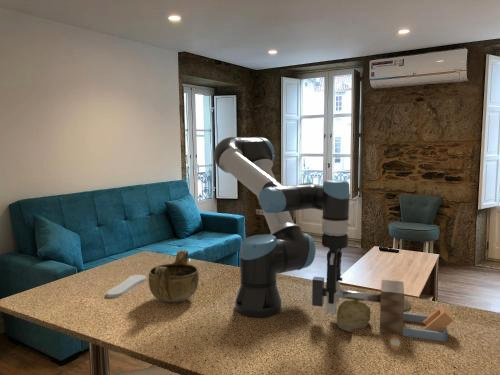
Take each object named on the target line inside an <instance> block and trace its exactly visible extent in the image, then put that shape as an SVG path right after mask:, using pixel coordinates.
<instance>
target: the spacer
mask: <svg viewBox="0 0 500 375" xmlns="http://www.w3.org/2000/svg"><path fill="white" fill-rule="evenodd" d="M428 316H429V317H428V318H426V319H425V320H424V321H423V323H422V324H424V325H425V326H424V328H423V330H430V331H437V332H442V331H441V330H443V329H444V328H445V327H446V328H447V327H448V326H449V325H450V324H452V322H454V318H453V315H452V313H451V311H450V310H448V309H447V308H446V307H445V306H443V305H441V306H440V307H438V308H437V309H436V310H435V311H434V312H433V313H431V314H430V315H428Z"/></svg>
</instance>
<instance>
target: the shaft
mask: <svg viewBox="0 0 500 375" xmlns="http://www.w3.org/2000/svg"><path fill="white" fill-rule="evenodd" d="M311 282H312V284H311V285H312V286H311V287H312V288H311V289H312V290H311V291H312V292H311V294H312V295H311V297H312V298H311V299H312V301H311V306H314V307H323V306H324V304H325V297H326V298H327V292H324V289H325V290H326V288H325V277H321V276H313V277H312V281H311ZM336 292H337V296H336V298H340V299H343V300H349V299H350V300H351V299H352V300H359V301H361V302H370V303H378V304H379V303H381V293H371V292H362V291H355V290H344V289H340V290H338V289H336Z"/></svg>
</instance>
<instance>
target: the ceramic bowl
mask: <svg viewBox="0 0 500 375" xmlns="http://www.w3.org/2000/svg"><path fill="white" fill-rule="evenodd" d="M188 256H189V251H188V250H186V249H185V250H181V249H180V250H179V249H178V250H177V252H176V255H175V261H174V262H172V263H165V264H163V263H162V264H160V265H159V264H158V265H155V266H153V267H152V268H150V269H149V270H148V286H149V290H150V293H151V294H152V295H153V297H154V298H155V299H156V300H158V301H159V302H162V303H165V304H172V305H173V304H180V303H183V302H184V301H186V300H188V299H190V298H191V297H192V296H193V295H194V294H195V293H196V291H197V289H198V287H199V286H198V285H199V280H200V279H199V276H200V274H199V268H198V267H197V266H196V265H193V264H190V263H188V260H189V258H188Z"/></svg>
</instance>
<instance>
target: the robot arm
mask: <svg viewBox="0 0 500 375" xmlns="http://www.w3.org/2000/svg"><path fill="white" fill-rule="evenodd" d="M213 159H214V162H215V164H216V166H217V167H218V168H219V169H220V170H221V171H222V172H224V173H226V174H230V175H231V176H233V177H234V178H235V179H236V180H238V182H240V183H241V184H242V185H244V186H245V187H246V188H247V189H248V190H249V191H250V192H252V193H253V194H254V195H256V197H257V200H258V204H259V206H260V208H261V210H262V213H263V215H264V217H265V220H266V223H267V225H268V228H269V231H270V234H267V233H263V234H256V235H255V234H254V235H251V236H248V237H246V238H245V239H243V240H242V242H241V243H240V251H239V258H240V261H239V263H240V286H239V289H238V292H237V295H236V298H235V302H234V303H235V311H236V312H237V313H238V314H241V315H244V316H247V317H251V318H265V317H271V316H274V315H276V314H278V313H280V312H281V311H282V303H283V302H282V298H281V295H280V292H279V288H278V286H277V275H279V274H284V273H286V272H287V273H288V272H293V271H300V270H302V269H306V268H308V267H310V266H311V265H312V264H313V263H314V260H315V257H316V256H315V255H316V251H317V250H316V248H317V247H316V243H315V240H314V238H313V237H312V236H311V235H309V234H308V233H304V232H303V231H302V228H301V226H300V225H298V224H296V223H294V221H293V218H292V216H291V213H290V212H291V211H293V212H294V211H300V210H301V211H302V210H313V209H314V210H319V211H322V219H321V220H322V221H321V231H322V232H323V233H322V234H321V245H322V246H323V247H324V248H328V252H326V263H327V264H326V284H325V287H326V290H325V289H324V292H327V297H326V307H325V308H326V310H325V312H326V314H331V315H337V304H338V303H340V299H341V298H336V296H337V292H336V289H338V290H341V282H343V277H341V276H342V274H341V270H342V267H341V266H342V264H341V263H342V258H343V251H342V249H345V248H347V247H348V246H349V235H348V232H349V227H350V226H352V225H351V222H349V219H350V218H349V217H350V197H351V193H350V183H349V182H348V181H347V180H343V179H325V180H324V182H323V185H321V184H316V183H311V182H308V183H307V182H306V183H305V182H303V183H300V184H296V185H295V184H294V185H283V184H282V183H280V181H278V180H277V179H276V177H275V175H274V173H273V170H272V168H273V166H274V162H275V148H274V146H273V144H272V143H271V141H270V140H269V139H267V138H265V137H259V136H253V137H252V136H251V137H250V136H249V137H245V136H242V137H241V136H230V137H226V138H223V139H222V140H220V141H219V142H218V143H217V145H216V146H215V148H214V152H213Z"/></svg>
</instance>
